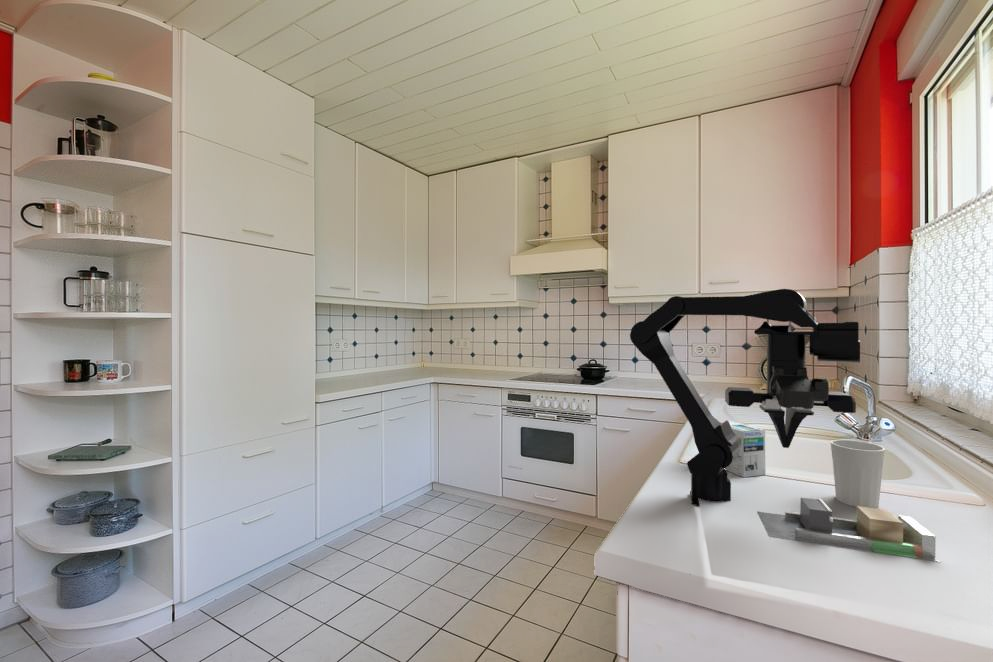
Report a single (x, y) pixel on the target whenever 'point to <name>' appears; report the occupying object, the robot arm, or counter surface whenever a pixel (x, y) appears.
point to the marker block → (879, 524)
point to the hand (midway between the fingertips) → (785, 447)
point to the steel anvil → (918, 535)
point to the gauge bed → (837, 536)
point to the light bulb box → (748, 451)
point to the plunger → (816, 515)
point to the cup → (857, 472)
